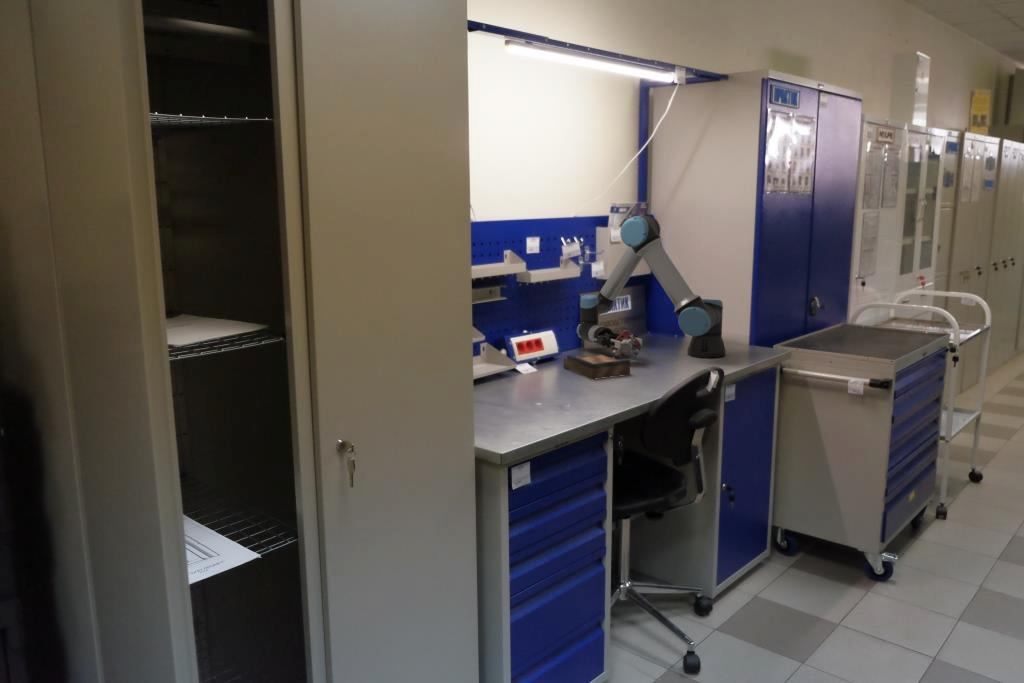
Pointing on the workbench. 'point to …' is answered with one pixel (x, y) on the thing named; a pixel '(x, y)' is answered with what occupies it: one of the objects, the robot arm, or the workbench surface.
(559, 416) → the workbench surface
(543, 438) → the workbench surface
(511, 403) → the workbench surface
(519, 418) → the workbench surface
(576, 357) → the dock
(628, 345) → the brake caliper
